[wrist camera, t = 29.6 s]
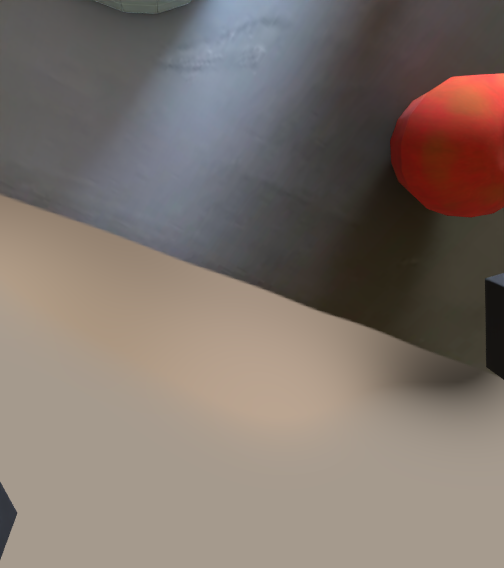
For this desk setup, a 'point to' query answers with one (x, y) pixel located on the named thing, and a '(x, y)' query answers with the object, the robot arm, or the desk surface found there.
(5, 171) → the desk surface
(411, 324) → the desk surface
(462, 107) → the apple
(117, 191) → the desk surface
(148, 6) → the bowl
